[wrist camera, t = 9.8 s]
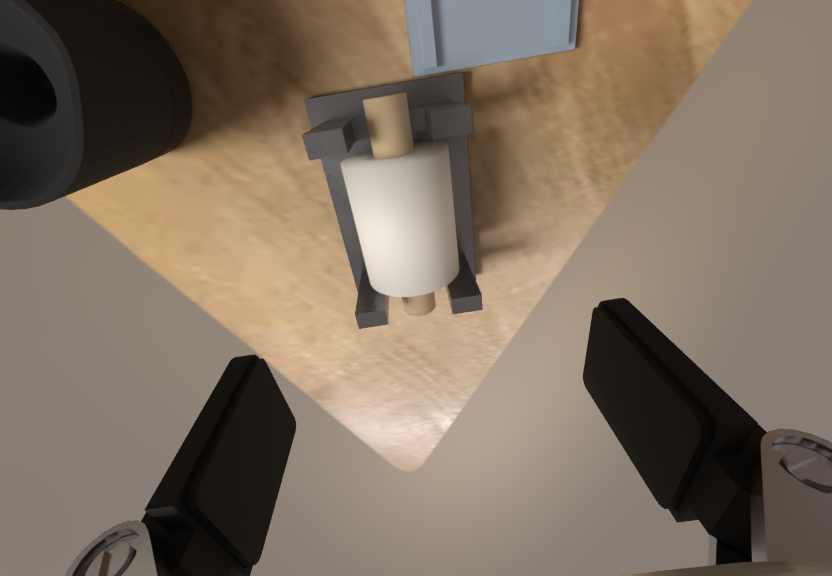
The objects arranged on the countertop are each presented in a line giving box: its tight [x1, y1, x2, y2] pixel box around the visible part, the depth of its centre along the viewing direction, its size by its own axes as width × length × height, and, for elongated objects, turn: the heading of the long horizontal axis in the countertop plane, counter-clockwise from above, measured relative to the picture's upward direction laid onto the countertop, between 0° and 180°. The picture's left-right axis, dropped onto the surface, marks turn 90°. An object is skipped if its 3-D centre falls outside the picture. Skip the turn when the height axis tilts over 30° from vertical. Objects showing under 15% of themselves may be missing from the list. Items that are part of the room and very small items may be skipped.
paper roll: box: [340, 93, 459, 316], centre depth 22 cm, size 14×6×6 cm, turn 8°
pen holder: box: [0, 0, 192, 210], centre depth 17 cm, size 9×9×10 cm
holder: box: [302, 72, 482, 329], centre depth 23 cm, size 15×10×7 cm, turn 8°
